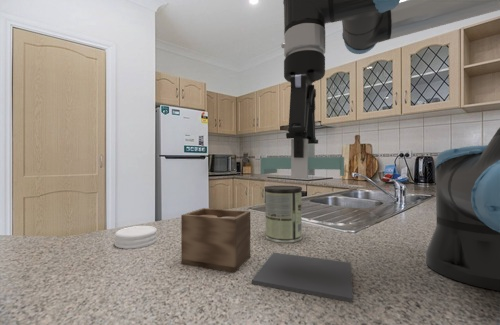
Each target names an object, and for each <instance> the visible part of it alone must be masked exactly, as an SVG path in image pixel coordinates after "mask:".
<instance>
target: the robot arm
mask: <svg viewBox="0 0 500 325" xmlns="http://www.w3.org/2000/svg"><path fill="white" fill-rule="evenodd" d="M282 2H283V18H284V19H283V21H284V22H283V24H284V25H283V28H284V30H283V33H284V34H283V35H284V37H283V39H284V42H282V43H281V44H280V45H281V48H282V49H284V51H283V52H284V54H283V55H284V60H283V77H284V79H285V81H286V82H288V83H290V97H289V113H288V116H289V117H288V128H287V131H288V132H286V134H285V137H286V139H290V143H291V144H290V157H291V169H290V178H291V179H309V176H315V172H316V169H308V157H316V155H315V153H316V152H315V151H316V149H315V148H316V144H319V139H317V137H316V114H315V113H316V112H315V111H316V97H317V92H316V91H317V89H316V88H315V84H313V83H315V82H316V81H321V79H323V78H324V76H326V55H325V53H326V24H329V23H330V24H331V23H332V24H333V23H337V22H341V23H342V34H341V36H342V39H343V41H344V45H345V47H346V49H347V51H349V53H352V54H355V55H362V54H366V53H368V52H370V51H371V50H372V49H373V48H374V47H376V45H377V44H379V43H381V42H385V41H389V40H392V39H397V38H400V37H403V36H408V35H411V34H414V33H418V32H423V31H426V30H430V29H433V28H438V27H441V26H445V25H448V24H453V23H457V22H460V21H463V20H467V19H471V18H475V17H479V16H482V15H486V14H489V13H494V12H497V11H500V0H283V1H282ZM434 170H435V193H436V195H435V197H436V201H435V204H436V205H435V207H436V210H435V213H436V226H435V229H434V232H433V234H432V237H431V239H430V242H429V243H428V246H427V249H426V252H425V263H426V265H427V267H429V268H430V269H431V270H433V271H434V272H436V273H438V274H439V275H442V276H444V277H447V278H449V279H452V280H454V281H457V282H459V283H460V282H461V283H463V284H467V285H471V286H474V287H478V288H482V289H483V288H484V289H488V290H493V291H499V292H500V127H499V128H498V129H497V130H496V132H495V133H494V135H493V136H492V138H491V139H490V141H489V143H488V144H486V145H474V146H473V145H472V146H463V147H458V148H456V147H455V148H450V149H447V150H444V151H441V152H440V153H438V155H437V156H436V164H435V167H434Z"/></svg>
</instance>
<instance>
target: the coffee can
mask: <svg viewBox="0 0 500 325" xmlns="http://www.w3.org/2000/svg"><path fill="white" fill-rule="evenodd" d="M302 189H303V187H301V186H297V185H268V186H265V187H264V192H265V193H264V196H265V197H264V198H265V200H264V201H265V206H264V208H265V236H264V237H265V239H266V240H268V241H270V242H274V243H281V244H291V243H297V242H300V241H301V240H302V239H303V230H302V228H303V226H302V223H303V222H302V220H303V219H302V217H303V216H302Z"/></svg>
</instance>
